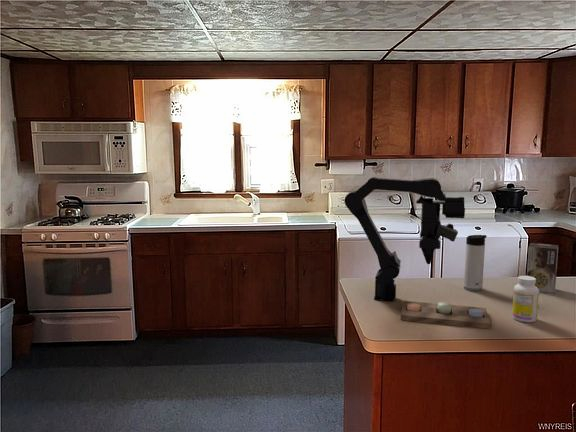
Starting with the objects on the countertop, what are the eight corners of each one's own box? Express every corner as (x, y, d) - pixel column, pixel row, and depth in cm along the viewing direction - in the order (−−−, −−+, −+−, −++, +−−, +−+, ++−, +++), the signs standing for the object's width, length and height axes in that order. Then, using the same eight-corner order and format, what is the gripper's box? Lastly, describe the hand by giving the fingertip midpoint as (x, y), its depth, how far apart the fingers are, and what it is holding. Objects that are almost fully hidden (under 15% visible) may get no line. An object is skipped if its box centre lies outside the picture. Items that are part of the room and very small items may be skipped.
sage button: (437, 313, 140) (437, 305, 139) (437, 308, 144) (437, 301, 143) (451, 314, 139) (451, 307, 138) (450, 310, 142) (451, 302, 142)
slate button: (468, 320, 137) (469, 312, 137) (467, 315, 141) (468, 308, 141) (483, 321, 136) (483, 314, 136) (481, 316, 140) (482, 309, 140)
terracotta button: (406, 314, 143) (406, 307, 142) (407, 310, 146) (407, 302, 146) (420, 315, 141) (420, 308, 141) (420, 311, 145) (420, 304, 145)
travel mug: (481, 292, 162) (484, 237, 159) (461, 289, 166) (464, 235, 162) (484, 288, 167) (487, 234, 164) (465, 285, 171) (468, 232, 168)
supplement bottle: (524, 313, 143) (527, 273, 141) (541, 321, 136) (545, 279, 134) (506, 316, 141) (509, 275, 138) (524, 324, 134) (527, 282, 132)
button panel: (400, 319, 139) (401, 315, 138) (403, 305, 151) (403, 300, 151) (490, 328, 132) (491, 323, 131) (485, 312, 144) (485, 307, 144)
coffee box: (555, 288, 166) (559, 245, 163) (554, 293, 160) (558, 248, 158) (527, 284, 171) (530, 242, 168) (525, 289, 165) (528, 245, 163)
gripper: (458, 223, 138) (456, 273, 141) (455, 213, 156) (453, 258, 158) (420, 221, 141) (418, 270, 144) (421, 212, 159) (419, 256, 162)
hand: (428, 263), depth 152 cm, fingers closed
